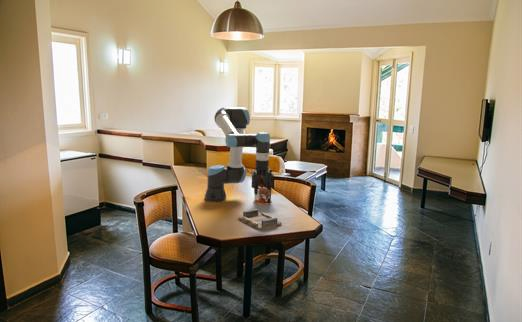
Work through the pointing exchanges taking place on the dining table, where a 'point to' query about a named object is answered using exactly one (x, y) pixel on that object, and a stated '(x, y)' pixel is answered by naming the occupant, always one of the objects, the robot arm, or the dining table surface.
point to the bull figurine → (264, 193)
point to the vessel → (261, 200)
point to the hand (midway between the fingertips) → (260, 198)
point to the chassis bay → (259, 219)
